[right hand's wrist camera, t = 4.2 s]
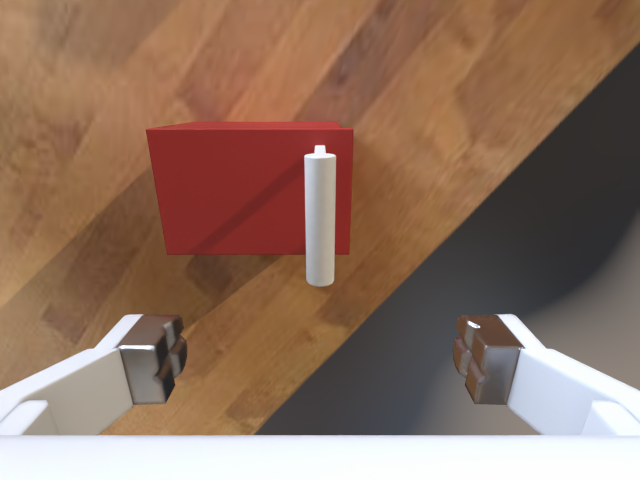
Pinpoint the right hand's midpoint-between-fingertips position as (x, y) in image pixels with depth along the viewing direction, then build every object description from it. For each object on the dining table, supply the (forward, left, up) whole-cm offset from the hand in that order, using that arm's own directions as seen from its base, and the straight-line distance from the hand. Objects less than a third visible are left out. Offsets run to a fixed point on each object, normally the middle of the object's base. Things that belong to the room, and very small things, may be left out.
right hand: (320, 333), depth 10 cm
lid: (-2, -4, -18) cm, 18 cm away
